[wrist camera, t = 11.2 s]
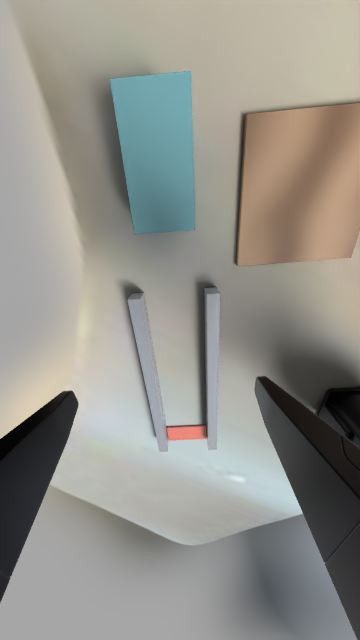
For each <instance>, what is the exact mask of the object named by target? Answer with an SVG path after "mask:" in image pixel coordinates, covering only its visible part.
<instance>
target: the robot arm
mask: <svg viewBox="0 0 360 640" xmlns="http://www.w3.org/2000/svg"><path fill="white" fill-rule="evenodd" d="M255 394H256V398H257V401H258V404H259V407H260V410H261V414H262V417H263V420H264V423H265V426H266V428H267V431H268V433H269V436H270V438H271V440H272V442H273V445H274V447H275V449H276V452H277V454H278V456H279V459H280V461H281V463H282V466H283V468H284V470H285V473H286V475H287V477H288V480H289V482H290V484H291V486H292V489H293V491H294V493H295V496H296V498H297V500H298V503H299V505H300V507H301V510H302V512H303V514H304V517H305V519H306V521H307V524H308V526H309V528H310V530H311V533H312V535H313V537H314V540H315V542H316V544H317V546H318V549H319V551H320V554H321V556H322V558H323V561H324V562H325V565H326V568H327V570H328V572H329V575H330V577H331V579H332V582H333V584H334V586H335V589H336V591H337V593H338V596H339V598H340V600H341V603H342V605H343V607H344V610H345V612H346V614H347V616H348V619H349V621H350V623H351V626H352V628H353V630H354V633H355V635H356V637H357V639H358V640H360V388H349V389H331V390H329V391H328V392H327V394H326V396H325V399H324V401H323V404H322V407H321V409H320V412H319V414H318V416H317V415H316V414H314V413H313V412H312V411H311V410H309V409H308V408H307V407H305V406H304V405H303V404H301V403H300V402H299V401H297V400H296V399H295V398H294V397H292V396H291V395H290V394H288V393H287V392H286V391H284V390H283V389H282V388H280V387H279V386H278V385H277V384H275V383H274V382H273V381H271V380H270V379H269V378H267V377H266V376H259V377H257V378H256V382H255ZM77 408H78V400H77V398H76V396H75V394H74V392H73V391H63V392H61V393H60V394H59V395H58V396H56V397H55V398H54V399H52V400H51V401H50V402H48V403H47V404H46V405H44V406H43V407H42V408H40V409H39V410H38V411H37V412H35V413H34V414H33V415H31V416H30V417H29V418H27V419H26V420H25V421H24V422H22V423H21V424H20V425H18V426H17V427H16V428H14V429H13V430H12V431H10V432H9V433H8V434H7V435H5V436H4V437H3V438H1V439H0V602H1V600H2V597H3V595H4V592H5V590H6V588H7V585H8V583H9V580H10V576H11V575H12V572H13V570H14V568H15V565H16V563H17V561H18V558H19V556H20V554H21V551H22V548H23V546H24V544H25V541H26V539H27V537H28V534H29V532H30V529H31V527H32V525H33V522H34V520H35V517H36V515H37V513H38V510H39V508H40V505H41V503H42V500H43V498H44V496H45V493H46V491H47V488H48V486H49V484H50V481H51V479H52V476H53V474H54V472H55V469H56V467H57V464H58V462H59V459H60V457H61V455H62V452H63V450H64V447H65V445H66V443H67V440H68V437H69V434H70V431H71V428H72V425H73V421H74V418H75V415H76V412H77Z"/></svg>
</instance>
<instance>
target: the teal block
mask: <svg viewBox="0 0 360 640" xmlns="http://www.w3.org/2000/svg"><path fill="white" fill-rule="evenodd" d="M110 84H111V90H112V96H113V103H114V109H115V115H116V121H117V128H118V134H119V140H120V146H121V153H122V159H123V165H124V171H125V178H126V184H127V190H128V196H129V203H130V209H131V215H132V221H133V228H134V234H143V233H156V232H170V231H183V230H195V203H194V167H193V131H192V96H191V71H184V72H174V73H164V74H154V75H144V76H133V77H123V78H113V79H110Z"/></svg>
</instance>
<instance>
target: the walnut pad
mask: <svg viewBox="0 0 360 640" xmlns="http://www.w3.org/2000/svg"><path fill="white" fill-rule="evenodd" d="M359 231H360V103H352V104H342V105H332V106H323V107H313V108H303V109H293V110H283V111H273V112H263V113H253V114H247V115H246V117H245V126H244V143H243V160H242V177H241V194H240V211H239V228H238V245H237V262H236V265H237V266H247V265H260V264H273V263H286V262H300V261H313V260H326V259H340V258H351V256H352V253H353V250H354V247H355V244H356V241H357V238H358V234H359Z"/></svg>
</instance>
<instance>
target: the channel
mask: <svg viewBox="0 0 360 640" xmlns="http://www.w3.org/2000/svg"><path fill="white" fill-rule="evenodd" d="M204 297H205V357H206V417H207V442H208V450H211V449H217V410H218V365H219V320H220V292H219V291H218V289H217V287H213V288H204ZM128 305H129V310H130V315H131V319H132V324H133V329H134V333H135V338H136V343H137V348H138V352H139V357H140V362H141V366H142V371H143V376H144V380H145V385H146V390H147V395H148V399H149V404H150V409H151V413H152V418H153V423H154V428H155V432H156V437H157V442H158V446H159V451H160V452H166V451H168V438H169V440H188V439H206V425H196V426H175V427H167V428H166V422H165V416H164V410H163V404H162V398H161V392H160V386H159V380H158V374H157V368H156V362H155V356H154V351H153V345H152V339H151V333H150V327H149V321H148V315H147V309H146V303H145V297H144V293H132V294H131V295H130V297H129V298H128ZM167 432H168V434H167Z"/></svg>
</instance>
